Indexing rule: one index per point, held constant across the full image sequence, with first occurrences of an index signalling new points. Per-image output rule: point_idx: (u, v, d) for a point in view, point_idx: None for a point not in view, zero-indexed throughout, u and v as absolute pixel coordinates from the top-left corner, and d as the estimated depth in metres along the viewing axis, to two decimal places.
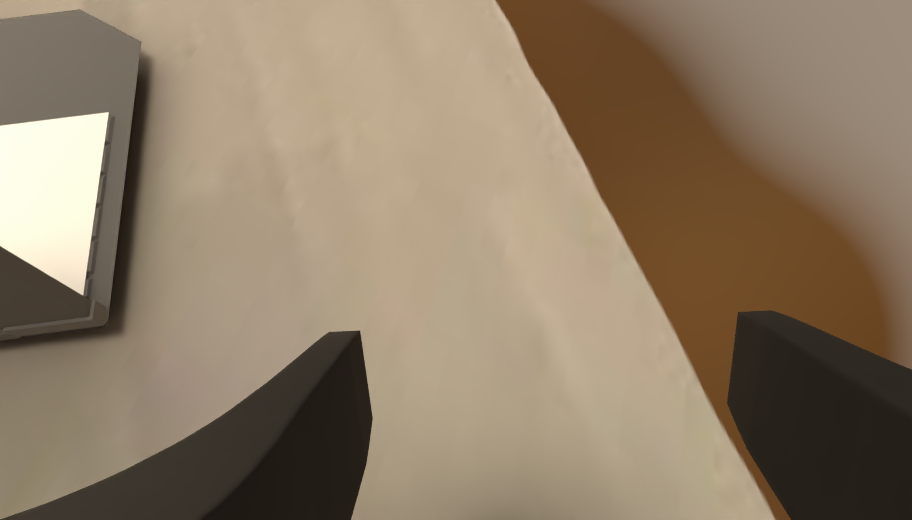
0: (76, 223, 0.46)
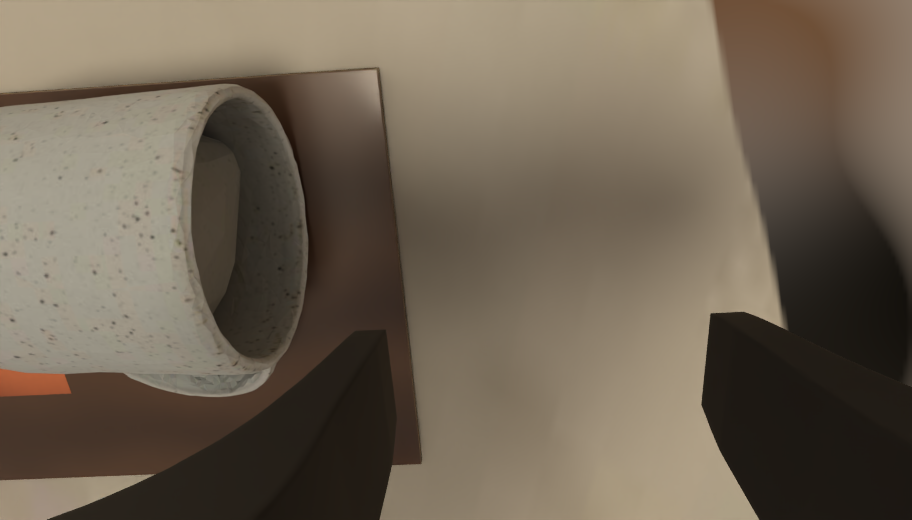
0: None
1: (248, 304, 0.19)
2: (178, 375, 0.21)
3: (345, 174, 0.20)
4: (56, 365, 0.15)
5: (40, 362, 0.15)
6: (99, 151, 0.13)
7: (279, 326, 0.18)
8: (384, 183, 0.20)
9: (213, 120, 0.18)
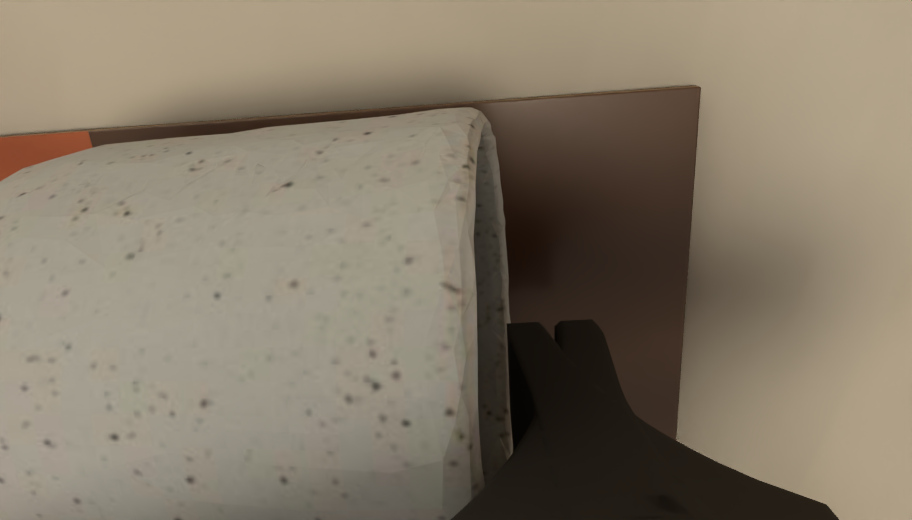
0: None
1: None
2: None
3: (627, 237, 0.14)
4: None
5: None
6: (288, 244, 0.07)
7: (489, 470, 0.12)
8: (681, 249, 0.14)
9: None
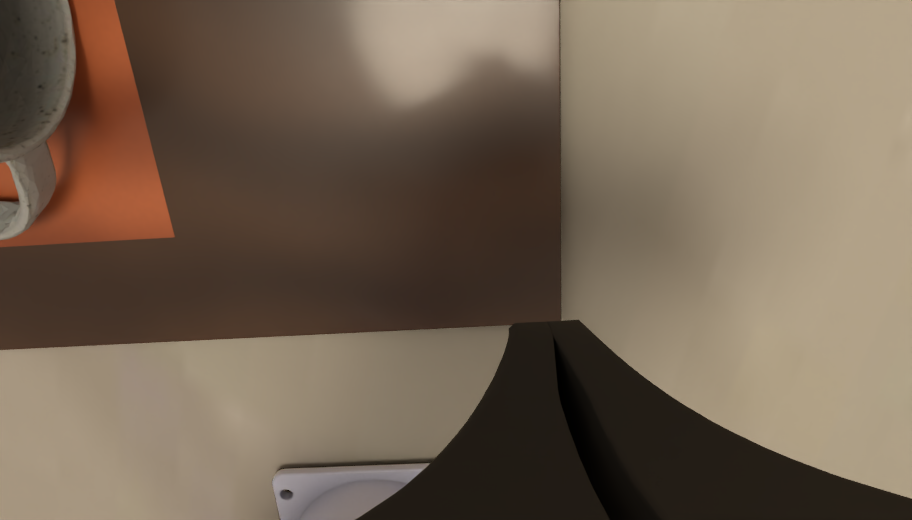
0: None
1: None
2: None
3: None
4: None
5: None
6: None
7: (18, 137, 0.16)
8: None
9: None
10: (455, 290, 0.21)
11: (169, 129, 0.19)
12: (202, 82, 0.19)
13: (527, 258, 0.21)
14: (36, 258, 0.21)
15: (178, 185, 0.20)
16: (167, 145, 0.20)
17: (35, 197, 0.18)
